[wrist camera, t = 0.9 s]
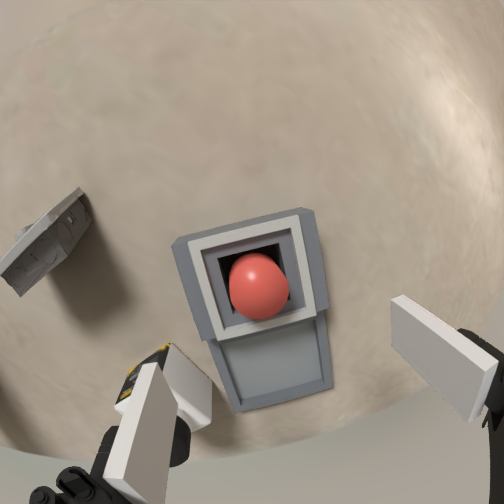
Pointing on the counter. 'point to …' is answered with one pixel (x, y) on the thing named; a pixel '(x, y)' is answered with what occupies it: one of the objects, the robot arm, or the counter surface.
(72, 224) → the electrical switch
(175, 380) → the medicine bottle
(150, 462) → the robot arm
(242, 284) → the button
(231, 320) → the console
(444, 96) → the counter surface
